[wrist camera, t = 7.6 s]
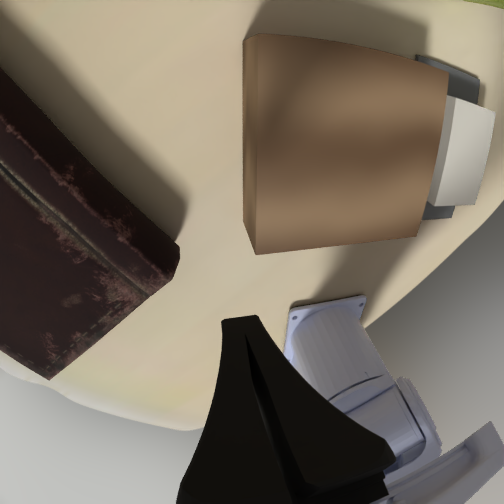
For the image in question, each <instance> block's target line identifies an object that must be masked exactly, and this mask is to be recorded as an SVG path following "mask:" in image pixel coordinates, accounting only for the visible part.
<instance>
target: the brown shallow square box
mask: <svg viewBox="0 0 504 504" xmlns="http://www.w3.org/2000/svg"><path fill="white" fill-rule="evenodd" d="M448 79H449V72H447V71H444V70H441V69H439V68H436V67H433V66H430V65H427V64H424V63H421V62H418V61H415V60H412V59H408V58H405V57H402V56H398V55H395V54H391V53H387V52H383V51H379V50H375V49H371V48H366V47H362V46H357V45H352V44H346V43H341V42H335V41H329V40H322V39H315V38H307V37H298V36H287V35H274V34H257V35H255V36H253V37H250V38H248V39H246V40H244V41H243V222H244V225H245V228H246V230H247V233H248V236H249V239H250V241H251V244H252V247H253V249H254V252H255V255H261V254H270V253H279V252H287V251H296V250H305V249H313V248H322V247H330V246H339V245H347V244H356V243H364V242H373V241H381V240H390V239H398V238H407V237H415V236H417V233H418V229H419V226H420V223H421V219H422V216H423V212H424V209H425V205H426V201H427V198H428V194H429V190H430V186H431V182H432V177H433V173H434V169H435V164H436V159H437V154H438V149H439V144H440V139H441V133H442V127H443V120H444V114H445V106H446V98H447V89H448Z"/></svg>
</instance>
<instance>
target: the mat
mask: <svg viewBox="0 0 504 504" xmlns="http://www.w3.org/2000/svg"><path fill="white" fill-rule="evenodd" d="M416 61H418V62H421V63H424V64H427V65H430V66H433V67H436V68H439V69H441V70H444V71H447V72H449V79H448V89H447V95H448V96H452V97H455V98H458V99H461V100H464V101H467V102H470V103H473V104H475V105H477V103H478V94H479V85H480V80H479V79H477V78H475V77H473V76H470V75H468V74H466V73H464V72H461V71H459V70H457V69H454V68H452V67H449V66H447V65H444V64H442V63H439V62H437V61H434V60H431V59H428V58H426V57H423V56H420V55H416ZM454 208H455V206H433V205H432V204H431V203H429V202H428V201H426V205H425V209H424V212H423V216H422V219H421V220H430V219H443V218H452V214H453V211H454Z"/></svg>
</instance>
